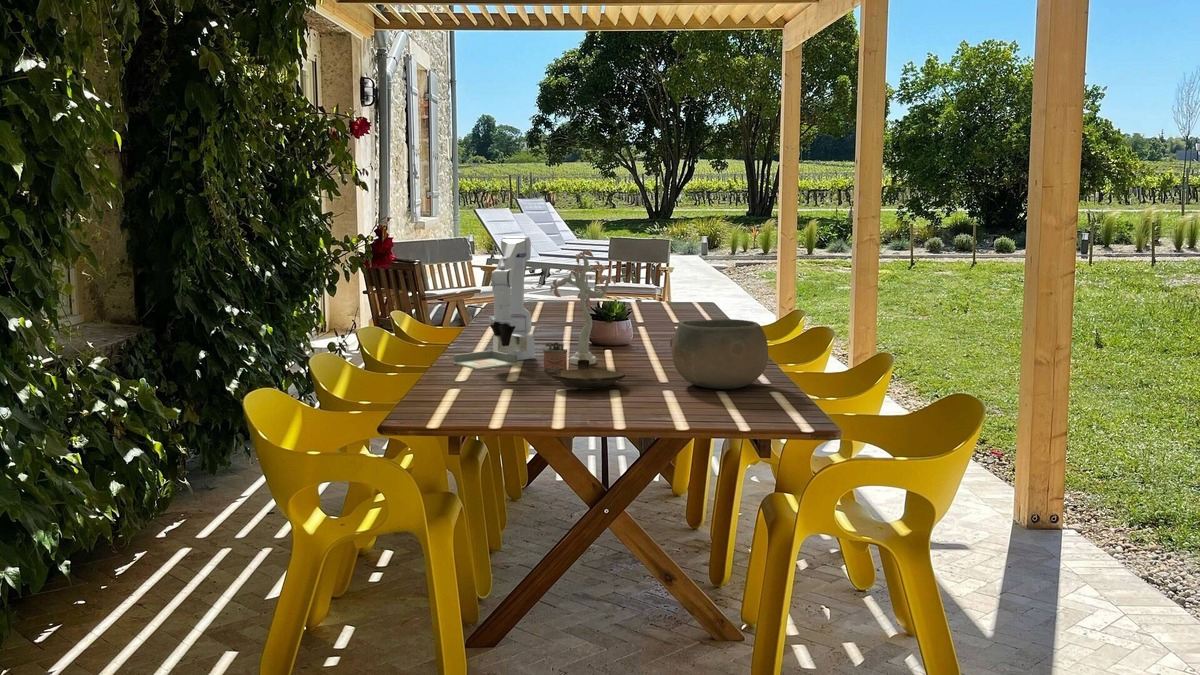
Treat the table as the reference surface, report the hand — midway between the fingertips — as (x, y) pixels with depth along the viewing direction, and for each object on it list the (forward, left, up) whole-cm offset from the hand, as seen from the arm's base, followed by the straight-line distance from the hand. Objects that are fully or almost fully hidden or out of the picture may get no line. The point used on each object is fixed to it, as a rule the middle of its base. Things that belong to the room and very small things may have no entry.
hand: (503, 345), depth 336 cm
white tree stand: (-30, +5, -9) cm, 32 cm away
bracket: (-1, +2, -2) cm, 3 cm away
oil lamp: (-4, +42, -9) cm, 43 cm away
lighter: (-11, +14, -9) cm, 20 cm away
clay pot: (-34, +68, -9) cm, 77 cm away
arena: (-1, -14, -8) cm, 16 cm away
